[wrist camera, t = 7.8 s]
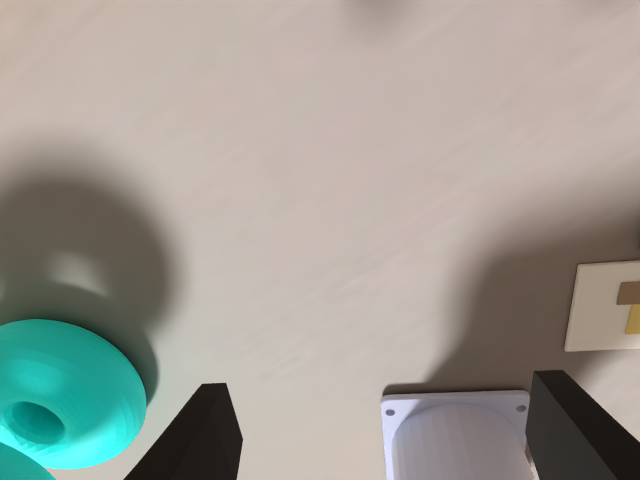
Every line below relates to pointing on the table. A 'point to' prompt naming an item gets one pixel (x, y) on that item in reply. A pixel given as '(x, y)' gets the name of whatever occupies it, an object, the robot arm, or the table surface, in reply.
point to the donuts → (63, 399)
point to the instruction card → (605, 307)
